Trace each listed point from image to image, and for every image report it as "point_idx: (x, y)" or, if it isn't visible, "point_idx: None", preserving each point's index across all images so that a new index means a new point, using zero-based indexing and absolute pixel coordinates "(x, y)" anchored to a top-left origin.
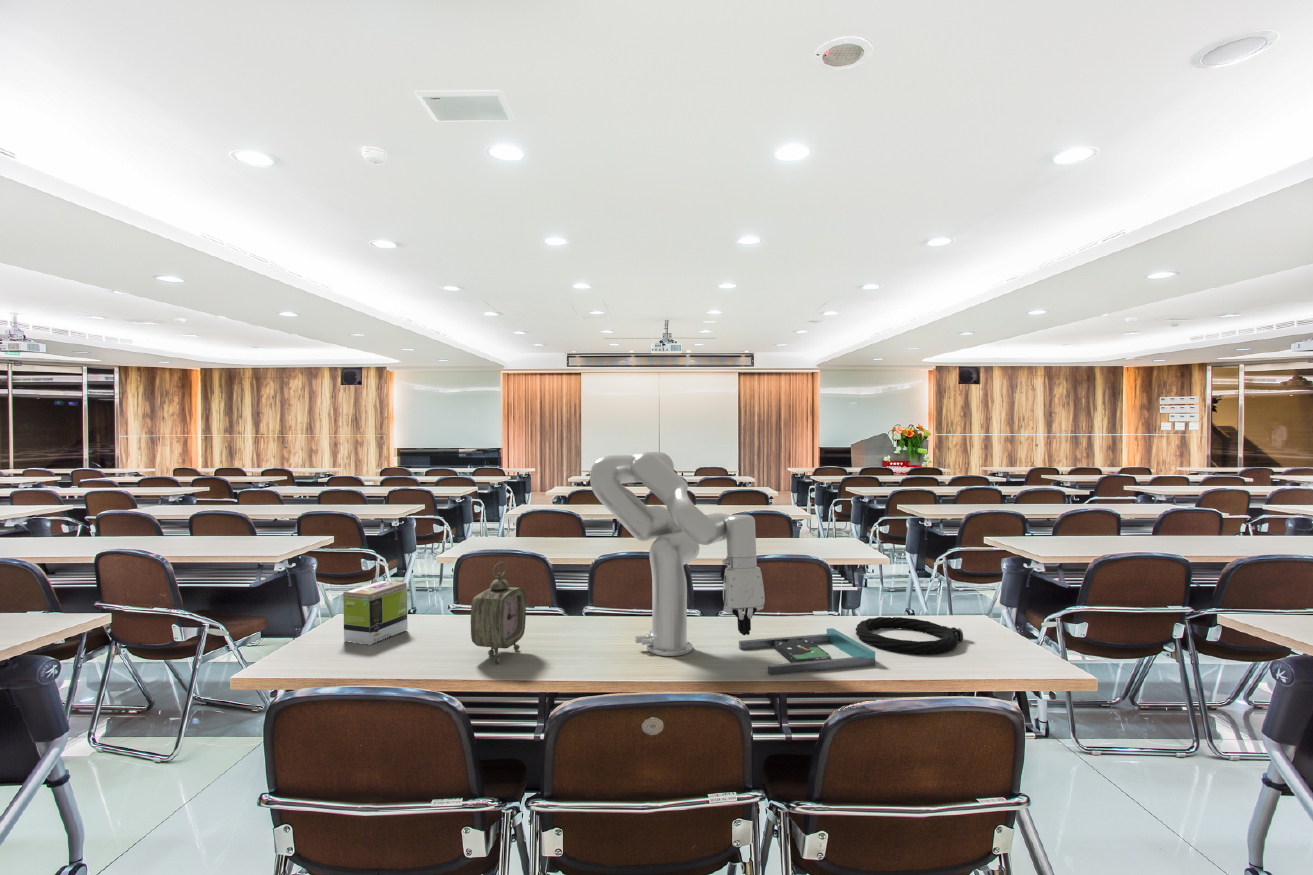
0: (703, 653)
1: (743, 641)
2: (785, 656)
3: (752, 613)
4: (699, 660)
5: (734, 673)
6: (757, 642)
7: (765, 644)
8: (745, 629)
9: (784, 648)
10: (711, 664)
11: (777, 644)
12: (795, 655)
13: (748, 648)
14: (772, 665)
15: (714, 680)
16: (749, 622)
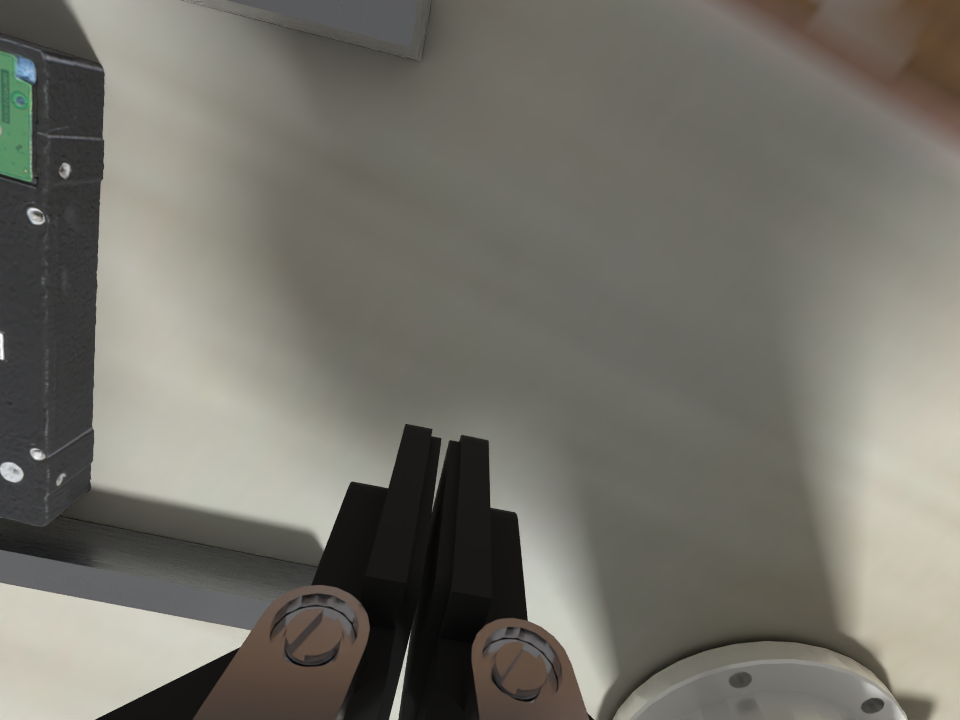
0: (607, 615)
1: None
2: (84, 297)
3: (220, 685)
4: (719, 529)
5: (677, 197)
6: (185, 576)
7: (130, 549)
8: (461, 475)
9: (32, 359)
10: (700, 435)
11: (50, 468)
12: (3, 156)
13: (275, 562)
14: (372, 7)
15: (932, 135)
16: (343, 561)
